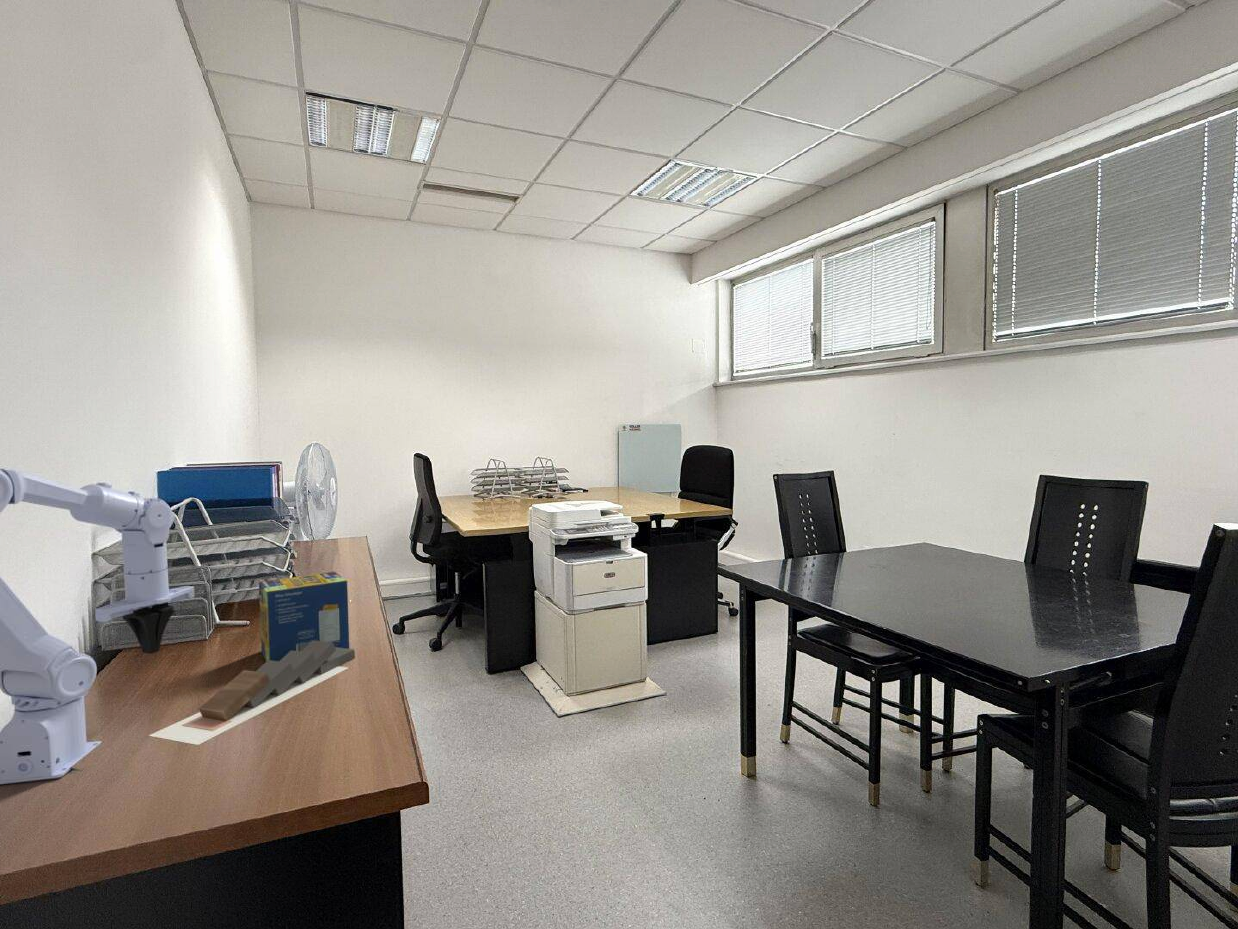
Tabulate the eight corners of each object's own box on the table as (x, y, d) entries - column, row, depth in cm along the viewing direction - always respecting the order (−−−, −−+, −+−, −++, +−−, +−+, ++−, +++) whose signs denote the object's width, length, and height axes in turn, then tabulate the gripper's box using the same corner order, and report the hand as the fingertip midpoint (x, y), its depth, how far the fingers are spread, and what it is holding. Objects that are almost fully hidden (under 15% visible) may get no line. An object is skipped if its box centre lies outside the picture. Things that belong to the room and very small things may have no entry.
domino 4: (299, 676, 112) (333, 642, 120) (278, 673, 113) (312, 640, 121) (303, 683, 113) (336, 650, 120) (281, 680, 114) (315, 647, 122)
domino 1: (222, 712, 97) (266, 673, 105) (198, 708, 99) (244, 670, 107) (226, 721, 98) (270, 681, 106) (202, 717, 99) (247, 678, 107)
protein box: (260, 654, 130) (257, 581, 129) (338, 639, 139) (336, 571, 139) (268, 669, 122) (265, 591, 121) (350, 651, 131) (348, 579, 130)
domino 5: (320, 665, 117) (354, 649, 125) (299, 663, 118) (334, 647, 127) (321, 675, 117) (354, 658, 125) (300, 672, 118) (334, 655, 127)
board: (198, 749, 91) (197, 744, 91) (148, 739, 94) (148, 735, 94) (349, 670, 120) (348, 667, 120) (307, 665, 123) (307, 662, 123)
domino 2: (250, 700, 102) (290, 662, 110) (227, 696, 103) (268, 660, 111) (253, 708, 103) (293, 670, 110) (230, 704, 104) (271, 668, 112)
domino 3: (275, 688, 107) (312, 653, 115) (253, 684, 108) (291, 650, 116) (279, 696, 107) (315, 660, 115) (256, 692, 109) (294, 658, 117)
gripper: (115, 582, 93) (121, 670, 94) (205, 562, 107) (209, 639, 108) (83, 579, 95) (89, 666, 96) (175, 560, 109) (179, 635, 110)
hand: (150, 651), depth 102 cm, fingers closed
